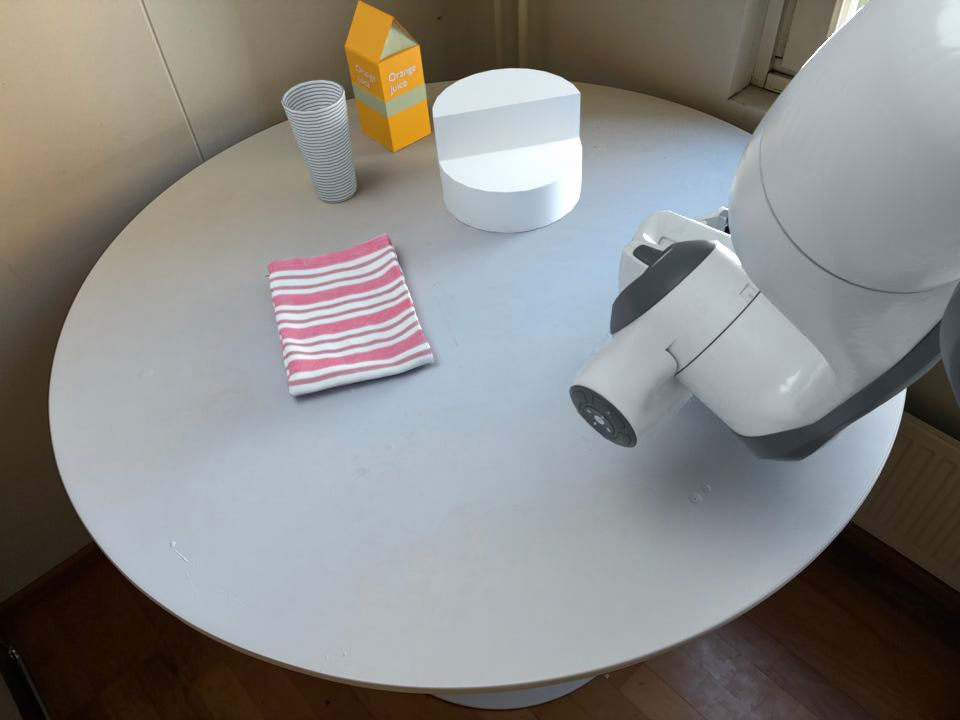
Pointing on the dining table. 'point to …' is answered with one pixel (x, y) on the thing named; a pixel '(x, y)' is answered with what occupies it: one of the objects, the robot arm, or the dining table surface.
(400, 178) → the dining table surface
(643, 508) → the dining table surface
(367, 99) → the orange juice
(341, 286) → the dish towel
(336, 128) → the cup
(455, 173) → the stepped white cylinder
